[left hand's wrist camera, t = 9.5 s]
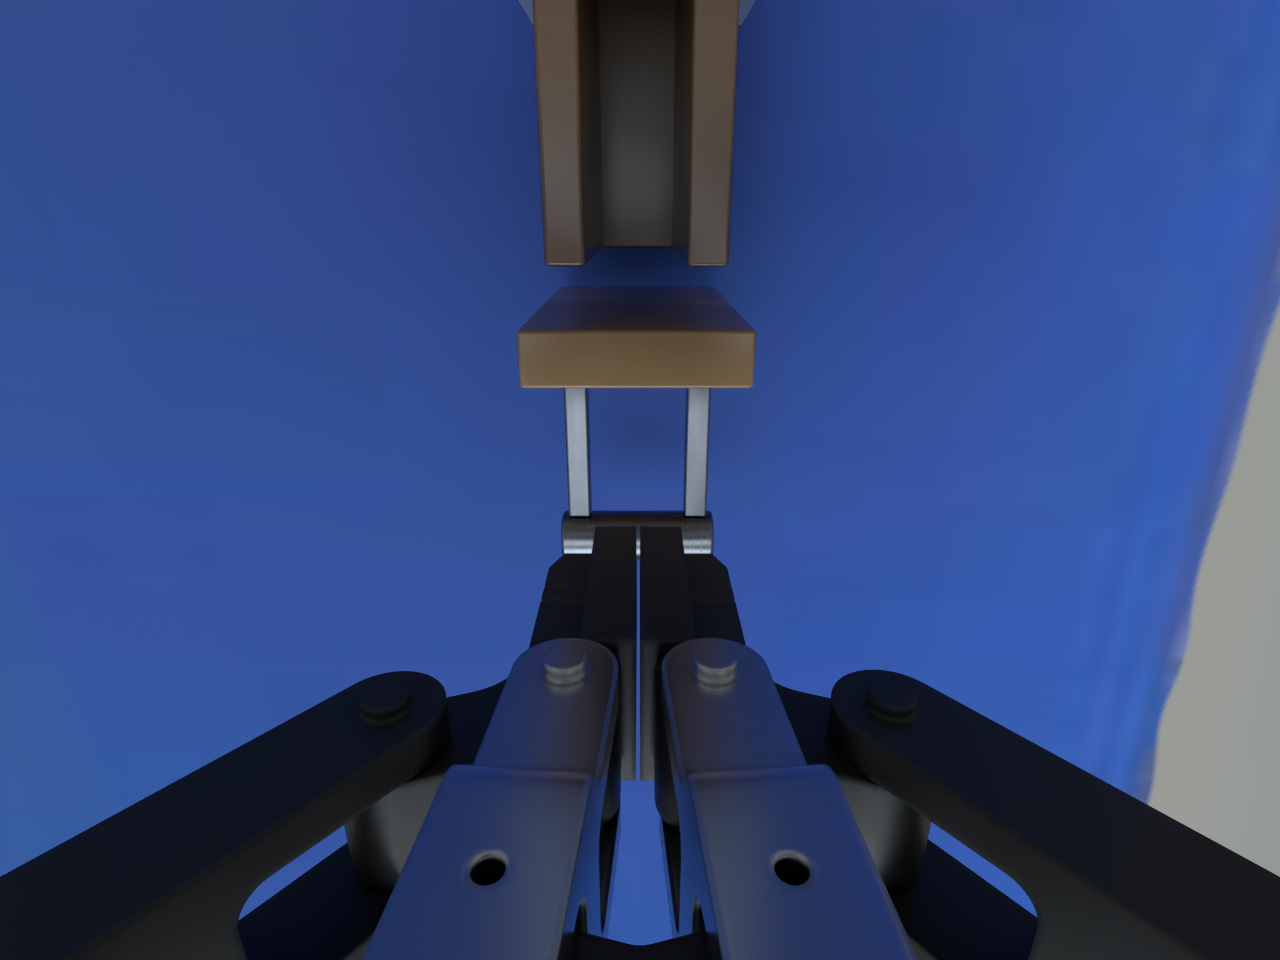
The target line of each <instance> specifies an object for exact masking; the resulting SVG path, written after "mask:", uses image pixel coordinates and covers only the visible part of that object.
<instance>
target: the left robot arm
mask: <svg viewBox="0 0 1280 960" xmlns="http://www.w3.org/2000/svg"><path fill="white" fill-rule="evenodd" d="M636 644H637V557H636V526H596V527H595V533H594V540H593V547H592V553H565V554H564V555H563V556H562V557H561V558H559V559H558V560H557V561H556V562H555V563H554V564H553V565H552V566H551V567H550V568H549V571H548V575H547V579H546V583H545V588H544V591H543V595H542V602H541V603H540V607H539V611H538V615H537V619H536V623H535V626H534V630H533V634H532V638H531V642H530V646H529V649H528V650H526V651H525V652H524V653H522V654H521V655H520V656H519V657H518V658H517V660H516V661H515V663H514V664H513V666H512V669H511V671H510V674H509V676H508V678H507V679H505V680H504V681H502V682H500V683H498V684H496V685H494V686H491V687H488V688H486V689H482V690H479V691H475V692H471V693H466V694H461V695H457V696H452V697H448V698H446V692H445V690H444V687H443V686H442V685H441V683H440V682H439V681H437V680H436V679H435V678H433V677H431V676H429V675H426V674H423V673H419V672H412V671H399V672H390V673H384V674H380V675H376V676H373V677H370V678H367V679H365V680H362V681H360V682H358V683H356V684H354V685H352V686H350V687H349V688H347V689H345V690H343V691H341V692H339V693H337V694H336V695H334V696H332V697H330V698H328V699H326V700H325V701H323V702H321V703H319V704H317V705H315V706H314V707H312V708H310V709H308V710H306V711H304V712H303V713H301V714H299V715H297V716H295V717H293V718H292V719H290V720H288V721H286V722H284V723H282V724H280V725H279V726H277V727H275V728H273V729H271V730H269V731H268V732H266V733H264V734H262V735H260V736H258V737H257V738H255V739H253V740H251V741H249V742H247V743H246V744H244V745H242V746H240V747H238V748H236V749H235V750H233V751H231V752H229V753H227V754H225V755H224V756H222V757H220V758H218V759H216V760H214V761H212V762H211V763H209V764H207V765H205V766H203V767H201V768H200V769H198V770H196V771H194V772H192V773H190V774H189V775H187V776H185V777H183V778H181V779H179V780H178V781H176V782H174V783H172V784H170V785H168V786H167V787H165V788H163V789H161V790H159V791H157V792H155V793H154V794H152V795H150V796H148V797H146V798H144V799H143V800H141V801H139V802H137V803H135V804H133V805H132V806H130V807H128V808H126V809H124V810H122V811H121V812H119V813H117V814H115V815H113V816H111V817H110V818H108V819H106V820H104V821H102V822H100V823H99V824H97V825H95V826H93V827H91V828H89V829H87V830H86V831H84V832H82V833H80V834H78V835H76V836H75V837H73V838H71V839H69V840H67V841H65V842H64V843H62V844H60V845H58V846H56V847H54V848H53V849H51V850H49V851H47V852H45V853H43V854H42V855H40V856H38V857H36V858H34V859H32V860H30V861H29V862H27V863H25V864H23V865H21V866H19V867H18V868H16V869H14V870H12V871H10V872H8V873H7V874H5V875H3V876H1V877H0V960H1280V877H1279V876H1277V875H1275V874H1273V873H1272V872H1270V871H1268V870H1266V869H1264V868H1262V867H1261V866H1259V865H1257V864H1255V863H1253V862H1251V861H1249V860H1248V859H1246V858H1244V857H1242V856H1240V855H1238V854H1237V853H1235V852H1233V851H1231V850H1229V849H1227V848H1226V847H1224V846H1222V845H1220V844H1218V843H1216V842H1214V841H1213V840H1211V839H1209V838H1207V837H1205V836H1204V835H1202V834H1200V833H1198V832H1196V831H1194V830H1192V829H1191V828H1189V827H1187V826H1185V825H1183V824H1181V823H1180V822H1178V821H1176V820H1174V819H1172V818H1170V817H1168V816H1167V815H1165V814H1163V813H1161V812H1159V811H1158V810H1156V809H1154V808H1152V807H1150V806H1148V805H1147V804H1145V803H1143V802H1141V801H1139V800H1137V799H1136V798H1134V797H1132V796H1130V795H1128V794H1126V793H1124V792H1123V791H1121V790H1119V789H1117V788H1115V787H1113V786H1112V785H1110V784H1108V783H1106V782H1104V781H1102V780H1101V779H1099V778H1097V777H1095V776H1093V775H1091V774H1090V773H1088V772H1086V771H1084V770H1082V769H1080V768H1079V767H1077V766H1075V765H1073V764H1071V763H1069V762H1067V761H1066V760H1064V759H1062V758H1060V757H1058V756H1056V755H1055V754H1053V753H1051V752H1049V751H1047V750H1045V749H1044V748H1042V747H1040V746H1038V745H1036V744H1034V743H1033V742H1031V741H1029V740H1027V739H1025V738H1023V737H1022V736H1020V735H1018V734H1016V733H1014V732H1012V731H1011V730H1009V729H1007V728H1005V727H1003V726H1001V725H999V724H998V723H996V722H994V721H992V720H990V719H988V718H987V717H985V716H983V715H981V714H979V713H977V712H976V711H974V710H972V709H970V708H968V707H966V706H965V705H963V704H961V703H959V702H957V701H955V700H954V699H952V698H950V697H948V696H946V695H944V694H943V693H941V692H939V691H937V690H935V689H933V688H931V687H930V686H928V685H926V684H924V683H922V682H920V681H918V680H916V679H914V678H911V677H909V676H906V675H903V674H899V673H895V672H890V671H884V670H863V671H856V672H853V673H850V674H848V675H846V676H844V677H842V678H841V679H839V680H838V681H837V682H836V684H835V685H834V687H833V689H832V693H831V698H826V697H822V696H817V695H812V694H808V693H803V692H799V691H795V690H792V689H789V688H786V687H783V686H781V685H779V684H777V683H775V682H774V681H773V679H772V676H771V674H770V671H769V669H768V666H767V664H766V663H765V661H764V660H763V658H762V657H761V656H760V655H759V654H758V653H756V652H755V651H754V650H752V649H751V648H749V647H747V646H746V645H745V640H744V636H743V632H742V628H741V624H740V620H739V616H738V612H737V607H736V603H735V602H734V595H733V591H732V588H731V583H730V579H729V574H728V570H727V568H726V567H725V566H724V565H723V564H722V563H721V562H720V561H719V560H718V559H717V558H716V557H715V556H714V555H712V554H711V553H684V546H683V538H682V530H681V526H640V780H654V784H655V803H656V807H657V810H658V812H659V814H660V822H659V827H660V840H661V848H662V856H663V864H664V872H665V880H666V889H667V897H668V905H669V913H670V921H671V930H672V938H673V939H669V940H665V941H662V942H658V943H654V944H650V945H630V944H626V943H622V942H618V941H615V940H611V939H607V938H608V930H609V921H610V913H611V905H612V897H613V889H614V880H615V872H616V864H617V856H618V848H619V840H620V827H621V823H620V790H621V780H635V767H636ZM931 822H933V823H934V824H936V825H937V826H938V827H940V828H941V829H943V830H944V831H946V832H947V833H948V834H950V835H951V836H953V837H954V838H956V839H957V840H959V841H960V842H961V843H963V844H964V845H966V846H967V847H969V848H970V849H971V850H973V851H974V852H976V853H977V854H979V855H980V856H981V857H983V858H984V859H986V860H987V861H989V862H990V863H992V864H993V865H994V866H996V867H997V868H999V869H1000V870H1002V871H1003V872H1004V873H1006V874H1007V875H1009V876H1010V877H1011V878H1012V879H1014V880H1015V881H1016V882H1017V883H1018V884H1019V885H1020V886H1021V887H1022V889H1023V890H1024V891H1025V892H1026V894H1027V895H1028V896H1029V898H1030V900H1031V901H1032V903H1033V905H1034V908H1035V910H1036V913H1037V917H1038V918H1037V917H1035V916H1034V915H1033V914H1031V913H1030V912H1028V911H1027V910H1026V909H1024V908H1023V907H1021V906H1020V905H1019V904H1017V903H1016V902H1015V901H1013V900H1012V899H1010V898H1009V897H1008V896H1006V895H1005V894H1003V893H1002V892H1001V891H999V890H998V889H996V888H995V887H994V886H992V885H991V884H989V883H988V882H987V881H985V880H984V879H983V878H981V877H980V876H978V875H977V874H976V873H974V872H973V871H971V870H970V869H969V868H967V867H966V866H964V865H963V864H962V863H960V862H959V861H958V860H956V859H955V858H953V857H952V856H951V855H949V854H948V853H946V852H945V851H944V850H942V849H941V848H939V847H938V846H937V845H935V844H934V843H932V842H931V841H930V840H928V835H929V830H930V825H931ZM343 825H344V826H345V831H346V836H347V841H348V842H347V843H346V844H345V845H343V846H342V847H341V848H339V849H338V850H336V851H335V852H334V853H332V854H331V855H329V856H328V857H327V858H325V859H324V860H322V861H321V862H320V863H318V864H317V865H316V866H314V867H313V868H311V869H310V870H309V871H307V872H306V873H304V874H303V875H302V876H300V877H299V878H297V879H296V880H295V881H293V882H292V883H290V884H289V885H288V886H286V887H285V888H284V889H282V890H281V891H279V892H278V893H277V894H275V895H274V896H272V897H271V898H270V899H268V900H267V901H265V902H264V903H263V904H261V905H260V906H259V907H257V908H256V909H254V910H253V911H252V912H250V913H249V914H247V915H246V916H245V917H243V918H242V919H240V920H239V921H238V919H239V915H240V912H241V910H242V908H243V906H244V904H245V902H246V901H247V899H248V898H249V896H250V895H251V894H252V892H253V891H254V890H255V889H256V888H257V887H258V886H259V885H260V884H261V883H262V882H263V881H265V880H266V879H267V878H268V877H270V876H271V875H273V874H274V873H276V872H277V871H278V870H280V869H281V868H283V867H284V866H286V865H287V864H288V863H290V862H291V861H293V860H294V859H296V858H297V857H298V856H300V855H301V854H303V853H304V852H306V851H307V850H309V849H310V848H311V847H313V846H314V845H316V844H317V843H319V842H320V841H321V840H323V839H324V838H326V837H327V836H329V835H330V834H331V833H333V832H334V831H336V830H337V829H339V828H340V827H342V826H343Z"/></svg>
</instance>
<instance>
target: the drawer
mask: <svg viewBox="0 0 1280 960" xmlns="http://www.w3.org/2000/svg"><path fill="white" fill-rule="evenodd" d="M532 3H533V24H534V45H535V66H536V88H537V109H538V130H539V151H540V172H541V193H542V214H543V235H544V256H545V263H546V265H548V266H583V265H584V264H585V263H586V262H587V261H588V260H589V259H590V258H591V257H592V256H593V255H594V254H595V253H596V252H597V251H598V250H599V249H600V248H601V247H673V248H674V249H675V250H676V251H677V253H678V254H679V255H680V256H681V257H682V258H683V260H684V261H685V262H686V263H687V264H688V265H689V266H727V264H728V255H729V231H730V208H731V185H732V162H733V139H734V116H735V93H736V70H737V47H738V24H739V0H532ZM517 345H518V360H519V376H520V385H521V387H522V388H564V402H565V427H566V451H567V476H568V501H569V511H565V512H564V514H563V518H562V530H561V543H562V554H563V555H564V554H565V553H592V547H593V540H594V533H595V527H596V526H636V557H637V559H640V526H681V530H682V538H683V546H684V553H711V554H713V539H714V534H713V518H712V514H711V512H710V511H706V498H707V471H708V444H709V417H710V390H711V388H751V387H752V386H753V379H754V362H755V345H756V332H755V330H754V329H753V328H752V327H751V326H750V325H749V324H748V323H747V322H746V321H745V320H744V319H743V318H742V316H741V315H740V314H739V313H738V312H737V311H736V310H735V309H734V308H733V307H732V306H731V305H730V304H729V303H728V302H727V300H726V299H725V298H724V297H723V296H722V295H721V294H720V293H719V292H718V291H717V290H716V289H715V288H714V287H561V288H560V289H559V290H558V291H557V292H556V293H555V294H554V295H553V296H552V297H551V298H550V299H549V300H548V301H547V302H546V303H545V304H544V305H543V306H542V307H541V308H540V309H539V310H538V311H537V312H536V313H535V314H534V315H533V316H532V317H531V318H530V319H529V320H528V321H527V322H526V323H525V324H524V325H523V326H522V327H521V328H520V329H519V330H518V332H517ZM588 388H686V415H685V456H684V498H683V509H684V511H591V509H592V499H591V462H590V426H589V390H588Z"/></svg>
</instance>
